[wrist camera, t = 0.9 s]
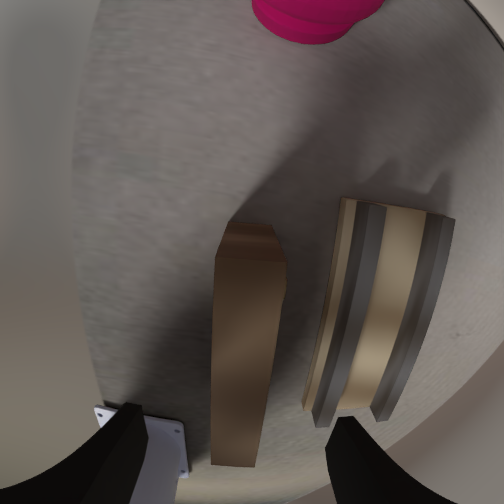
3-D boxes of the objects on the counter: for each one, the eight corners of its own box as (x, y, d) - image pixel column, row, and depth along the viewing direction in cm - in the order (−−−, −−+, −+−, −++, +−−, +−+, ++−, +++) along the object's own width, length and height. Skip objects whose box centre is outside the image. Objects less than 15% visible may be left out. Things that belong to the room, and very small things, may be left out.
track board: (382, 396, 20) (394, 419, 18) (301, 401, 20) (307, 428, 17) (436, 212, 16) (462, 220, 14) (341, 197, 16) (358, 202, 13)
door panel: (256, 390, 20) (259, 467, 13) (219, 388, 20) (210, 464, 13) (276, 225, 17) (296, 263, 10) (228, 221, 17) (215, 257, 10)
